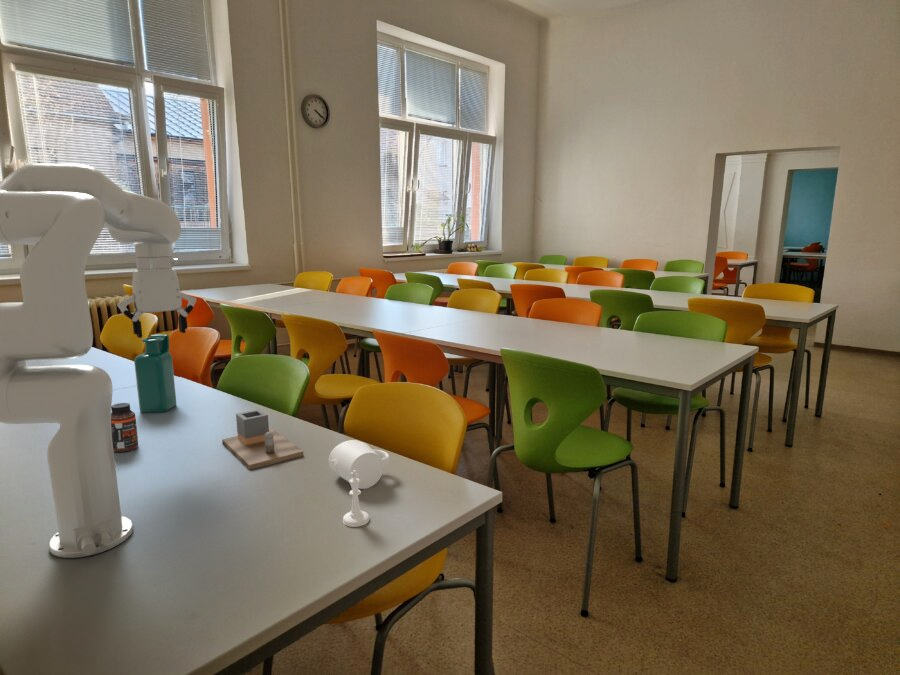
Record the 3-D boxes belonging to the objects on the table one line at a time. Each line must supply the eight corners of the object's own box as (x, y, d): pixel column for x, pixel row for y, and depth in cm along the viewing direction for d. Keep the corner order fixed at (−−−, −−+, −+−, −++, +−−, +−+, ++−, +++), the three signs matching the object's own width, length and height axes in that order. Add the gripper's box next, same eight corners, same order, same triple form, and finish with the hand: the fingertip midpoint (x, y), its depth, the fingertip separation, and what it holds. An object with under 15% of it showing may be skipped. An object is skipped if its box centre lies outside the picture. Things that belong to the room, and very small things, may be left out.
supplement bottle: (126, 454, 139) (121, 409, 137) (105, 452, 141) (100, 407, 138) (144, 444, 145) (139, 402, 143) (123, 443, 146) (118, 400, 144)
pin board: (303, 455, 138) (302, 431, 137) (249, 469, 130) (247, 444, 129) (272, 432, 154) (270, 410, 152) (222, 443, 146) (220, 420, 144)
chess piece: (357, 511, 111) (355, 462, 109) (374, 519, 108) (373, 469, 106) (337, 521, 108) (335, 471, 106) (354, 529, 105) (353, 478, 103)
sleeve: (261, 432, 150) (259, 409, 149) (269, 439, 145) (267, 415, 144) (237, 438, 146) (235, 413, 145) (245, 445, 142) (243, 419, 140)
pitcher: (165, 413, 170) (157, 340, 165) (137, 412, 170) (128, 340, 166) (181, 403, 179) (174, 333, 175) (154, 402, 179) (147, 333, 175)
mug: (346, 494, 118) (345, 458, 117) (328, 478, 126) (327, 443, 125) (397, 480, 125) (396, 445, 124) (377, 465, 133) (377, 432, 131)
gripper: (188, 262, 145) (194, 328, 148) (110, 265, 135) (118, 336, 138) (196, 263, 139) (202, 332, 143) (115, 266, 129) (124, 341, 132)
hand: (161, 334), depth 140 cm, fingers open, 9 cm apart
